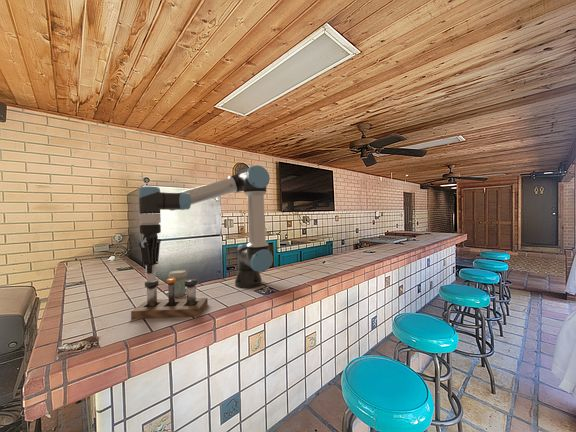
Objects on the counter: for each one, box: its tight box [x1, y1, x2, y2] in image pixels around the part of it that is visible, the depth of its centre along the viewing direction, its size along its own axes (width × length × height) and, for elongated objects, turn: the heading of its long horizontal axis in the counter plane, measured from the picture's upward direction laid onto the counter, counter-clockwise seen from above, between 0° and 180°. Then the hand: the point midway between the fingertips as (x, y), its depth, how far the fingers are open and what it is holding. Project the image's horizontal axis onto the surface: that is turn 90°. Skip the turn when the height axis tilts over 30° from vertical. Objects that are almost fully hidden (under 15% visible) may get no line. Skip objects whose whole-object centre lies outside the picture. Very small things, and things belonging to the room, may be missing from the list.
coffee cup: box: [168, 269, 188, 298], centre depth 118 cm, size 8×8×12 cm
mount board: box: [130, 297, 209, 320], centre depth 99 cm, size 26×12×3 cm, turn 93°
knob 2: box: [184, 278, 198, 305], centre depth 99 cm, size 5×5×10 cm
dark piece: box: [166, 278, 176, 305], centre depth 99 cm, size 3×3×10 cm
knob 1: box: [144, 279, 160, 306], centre depth 99 cm, size 5×5×10 cm
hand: (151, 280), depth 98 cm, fingers closed
